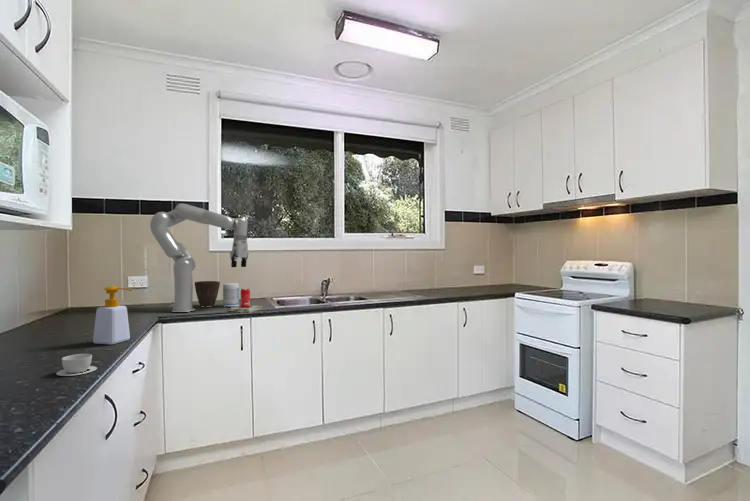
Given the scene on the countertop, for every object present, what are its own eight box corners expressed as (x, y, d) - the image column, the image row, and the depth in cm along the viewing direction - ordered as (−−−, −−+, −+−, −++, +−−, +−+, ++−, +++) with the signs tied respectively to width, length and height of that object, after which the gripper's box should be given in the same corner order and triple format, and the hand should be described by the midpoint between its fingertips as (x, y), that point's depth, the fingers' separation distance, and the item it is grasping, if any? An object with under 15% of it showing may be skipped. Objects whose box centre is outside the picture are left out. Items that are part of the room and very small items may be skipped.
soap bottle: (121, 346, 155) (122, 287, 155) (91, 344, 158) (91, 286, 158) (140, 340, 165) (141, 285, 164) (111, 339, 167) (111, 284, 167)
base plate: (228, 311, 240) (228, 308, 240) (241, 308, 254) (241, 305, 254) (249, 313, 236) (249, 309, 236) (262, 309, 250) (262, 306, 250)
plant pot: (201, 305, 266) (201, 280, 266) (223, 305, 266) (223, 281, 266) (189, 308, 252) (190, 282, 251) (213, 309, 251) (213, 282, 251)
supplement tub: (240, 307, 260) (241, 283, 260) (225, 308, 254) (225, 284, 254) (236, 305, 268) (236, 282, 268) (221, 306, 262) (221, 283, 262)
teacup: (100, 372, 124) (100, 356, 123) (59, 379, 116) (59, 363, 116) (92, 365, 130) (92, 350, 130) (53, 372, 123) (53, 356, 123)
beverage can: (240, 309, 242) (240, 289, 242) (240, 308, 247) (241, 288, 247) (249, 309, 243) (249, 289, 243) (249, 308, 248) (250, 288, 248)
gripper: (237, 238, 237) (235, 267, 237) (253, 239, 254) (252, 267, 254) (225, 237, 239) (224, 266, 239) (243, 239, 256) (241, 266, 256)
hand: (238, 267), depth 247 cm, fingers open, 9 cm apart
